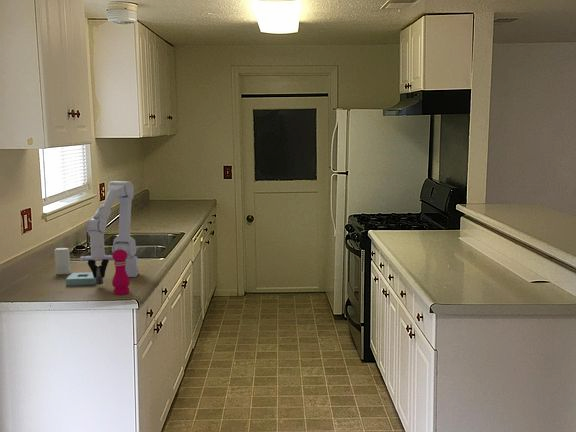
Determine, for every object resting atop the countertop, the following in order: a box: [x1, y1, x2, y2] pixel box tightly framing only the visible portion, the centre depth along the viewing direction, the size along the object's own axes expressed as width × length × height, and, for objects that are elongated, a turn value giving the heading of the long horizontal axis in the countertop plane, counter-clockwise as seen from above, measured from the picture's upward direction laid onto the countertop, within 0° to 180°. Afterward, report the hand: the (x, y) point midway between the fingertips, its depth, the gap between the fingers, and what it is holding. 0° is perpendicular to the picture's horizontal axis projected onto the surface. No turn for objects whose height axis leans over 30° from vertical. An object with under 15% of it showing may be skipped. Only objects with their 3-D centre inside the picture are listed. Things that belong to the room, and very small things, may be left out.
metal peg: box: [95, 264, 104, 286], centre depth 271 cm, size 3×3×8 cm
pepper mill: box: [111, 246, 131, 296], centre depth 261 cm, size 7×7×20 cm
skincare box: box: [53, 247, 72, 275], centre depth 296 cm, size 6×4×12 cm
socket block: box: [65, 271, 97, 287], centre depth 281 cm, size 12×12×3 cm
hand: (99, 277), depth 271 cm, fingers closed on metal peg, 3 cm apart
